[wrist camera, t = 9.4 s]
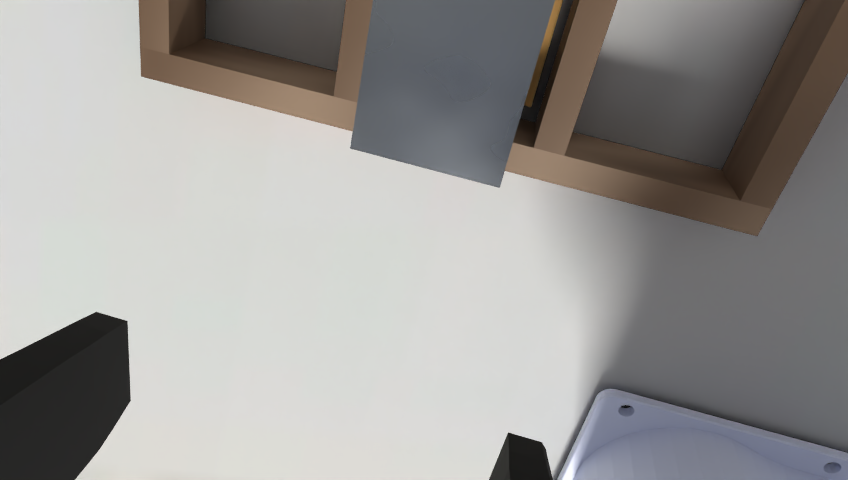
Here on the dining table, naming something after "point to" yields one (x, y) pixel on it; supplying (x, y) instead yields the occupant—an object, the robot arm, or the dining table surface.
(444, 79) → the metal block
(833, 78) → the slot rack
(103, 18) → the dining table surface
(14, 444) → the robot arm
